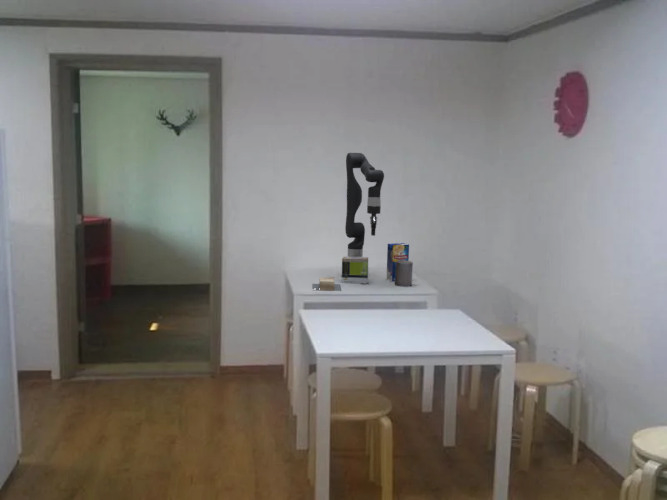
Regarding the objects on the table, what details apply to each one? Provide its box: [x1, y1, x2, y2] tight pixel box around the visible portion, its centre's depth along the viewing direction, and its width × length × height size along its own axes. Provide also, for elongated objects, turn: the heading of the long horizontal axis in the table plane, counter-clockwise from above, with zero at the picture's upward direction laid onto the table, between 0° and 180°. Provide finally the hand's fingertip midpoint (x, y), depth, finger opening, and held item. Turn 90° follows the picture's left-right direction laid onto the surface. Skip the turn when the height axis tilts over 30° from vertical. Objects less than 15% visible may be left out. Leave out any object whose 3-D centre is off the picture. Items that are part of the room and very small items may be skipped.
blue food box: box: [385, 242, 410, 283], centre depth 433 cm, size 7×11×22 cm, turn 116°
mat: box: [311, 283, 342, 292], centre depth 405 cm, size 20×16×1 cm
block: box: [318, 276, 336, 292], centre depth 402 cm, size 5×8×13 cm
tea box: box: [341, 256, 369, 285], centre depth 424 cm, size 15×10×15 cm
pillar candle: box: [394, 259, 414, 287], centre depth 419 cm, size 10×10×15 cm
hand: (373, 235), depth 413 cm, fingers closed
